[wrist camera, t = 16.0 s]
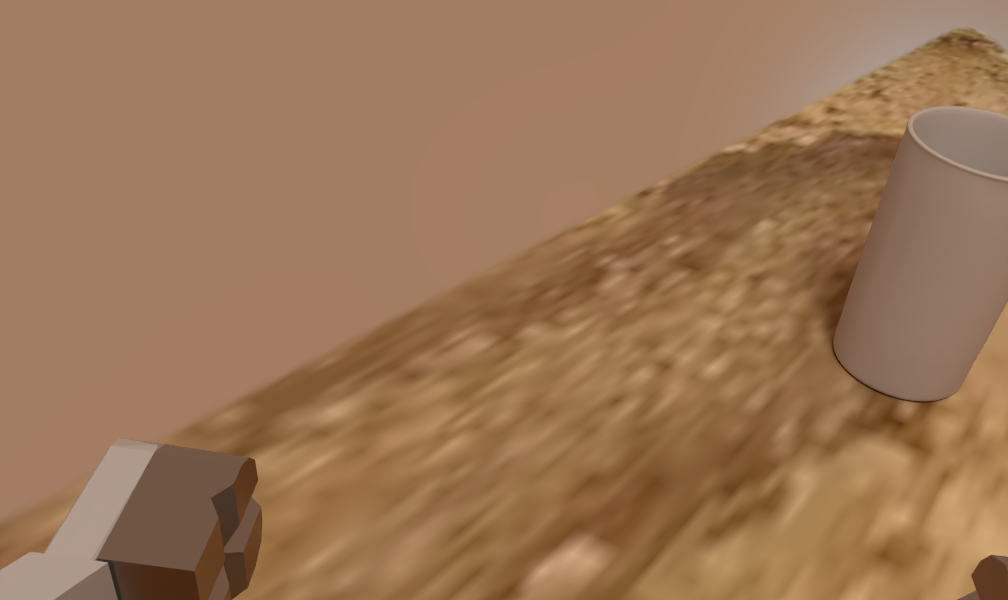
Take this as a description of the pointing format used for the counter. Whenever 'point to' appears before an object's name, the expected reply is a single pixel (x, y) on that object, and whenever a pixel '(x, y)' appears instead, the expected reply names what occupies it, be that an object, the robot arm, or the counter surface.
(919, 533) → the counter surface
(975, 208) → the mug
